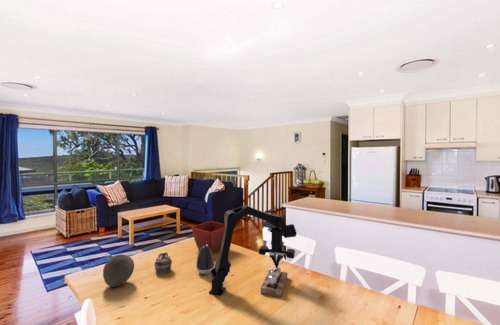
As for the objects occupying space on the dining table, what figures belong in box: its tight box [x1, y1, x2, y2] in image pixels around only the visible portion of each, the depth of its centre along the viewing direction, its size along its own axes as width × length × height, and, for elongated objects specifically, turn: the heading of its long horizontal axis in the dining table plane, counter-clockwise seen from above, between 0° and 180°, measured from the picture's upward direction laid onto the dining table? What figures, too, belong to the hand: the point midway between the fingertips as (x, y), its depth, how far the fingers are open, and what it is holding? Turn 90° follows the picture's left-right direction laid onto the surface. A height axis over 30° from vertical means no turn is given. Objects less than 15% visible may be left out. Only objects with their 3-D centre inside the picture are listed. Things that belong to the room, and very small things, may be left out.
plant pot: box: [191, 220, 225, 254], centre depth 174 cm, size 19×19×17 cm
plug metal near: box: [268, 274, 277, 288], centre depth 122 cm, size 4×4×5 cm
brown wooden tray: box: [260, 269, 288, 298], centre depth 127 cm, size 19×10×3 cm, turn 163°
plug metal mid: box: [270, 268, 279, 282], centre depth 127 cm, size 4×4×5 cm
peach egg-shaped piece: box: [272, 266, 282, 278], centre depth 132 cm, size 4×4×5 cm
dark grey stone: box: [102, 254, 135, 288], centre depth 128 cm, size 14×14×15 cm
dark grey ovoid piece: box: [195, 244, 215, 275], centre depth 141 cm, size 10×10×15 cm
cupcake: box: [153, 252, 173, 275], centre depth 143 cm, size 10×10×10 cm
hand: (276, 267), depth 132 cm, fingers closed
